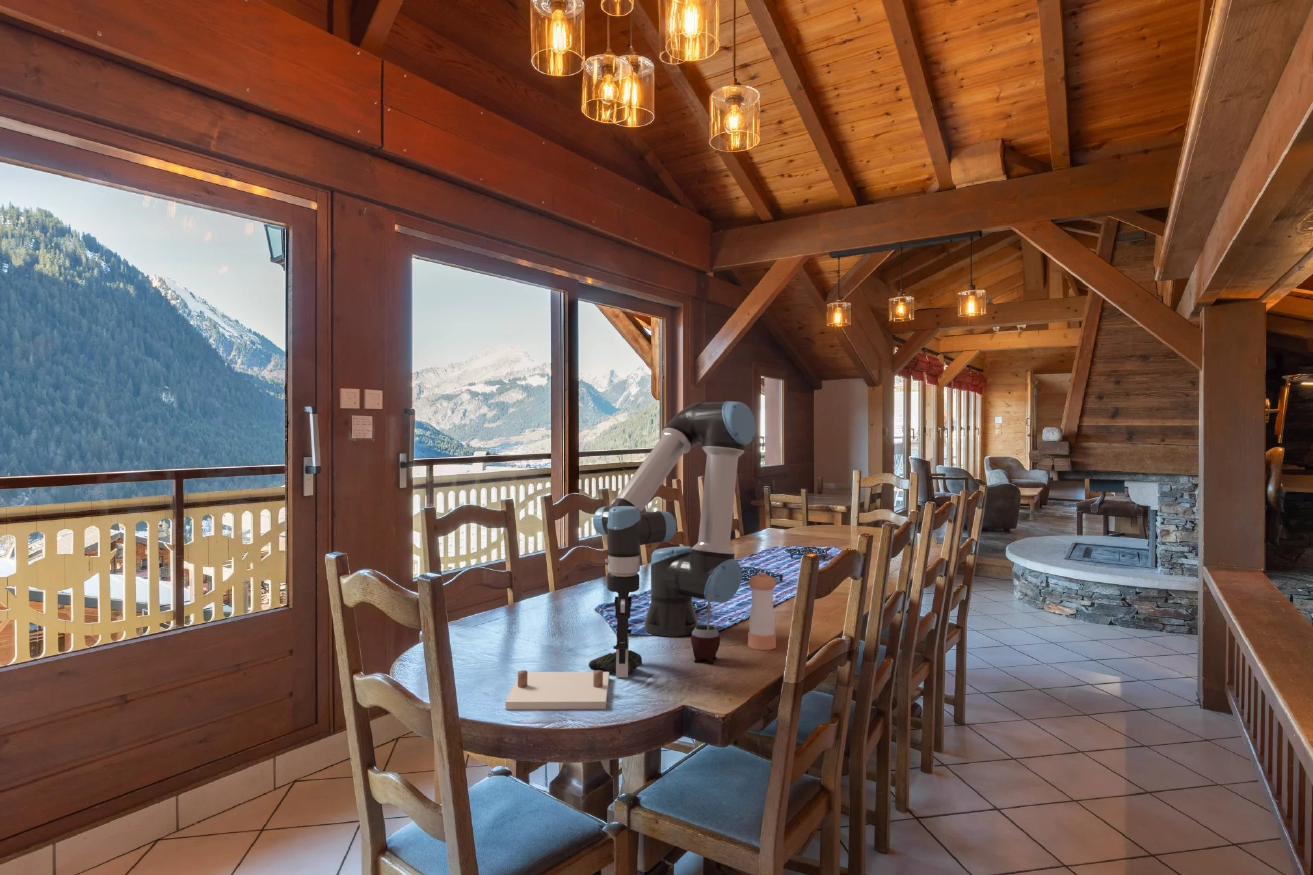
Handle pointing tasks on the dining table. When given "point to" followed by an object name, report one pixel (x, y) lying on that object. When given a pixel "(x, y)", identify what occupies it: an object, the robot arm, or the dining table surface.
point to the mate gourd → (705, 641)
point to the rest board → (559, 690)
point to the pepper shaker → (762, 613)
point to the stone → (610, 661)
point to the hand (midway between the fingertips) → (622, 669)
